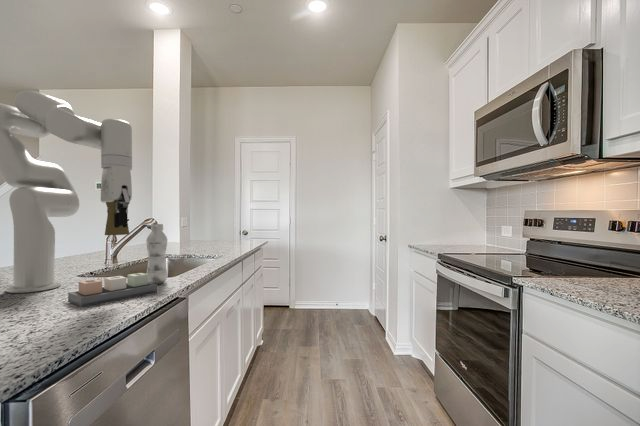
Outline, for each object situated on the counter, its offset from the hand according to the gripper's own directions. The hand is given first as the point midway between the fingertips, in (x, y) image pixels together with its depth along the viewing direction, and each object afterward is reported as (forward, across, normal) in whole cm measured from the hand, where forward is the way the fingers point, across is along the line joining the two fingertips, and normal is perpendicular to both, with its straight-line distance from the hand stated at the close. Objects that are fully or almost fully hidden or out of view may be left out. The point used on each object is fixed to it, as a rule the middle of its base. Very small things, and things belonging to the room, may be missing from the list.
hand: (117, 226), depth 91 cm
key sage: (+17, +1, +5) cm, 18 cm away
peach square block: (+17, +2, -7) cm, 19 cm away
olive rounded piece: (+2, 0, 0) cm, 2 cm away
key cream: (+17, +1, -1) cm, 17 cm away
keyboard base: (+20, +1, -1) cm, 20 cm away
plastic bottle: (+20, -7, +14) cm, 25 cm away
